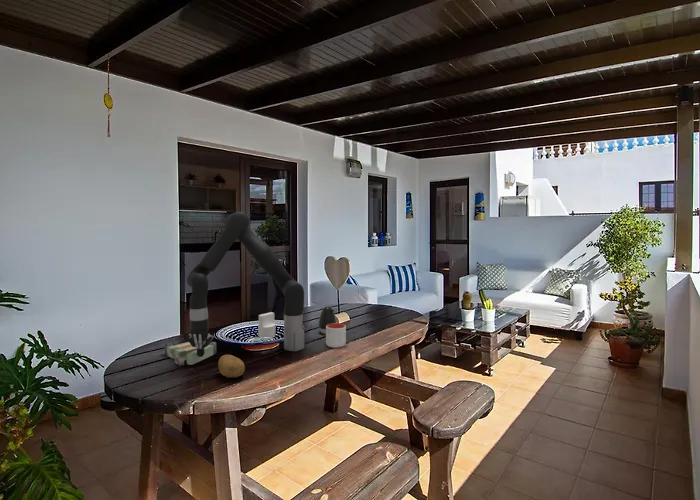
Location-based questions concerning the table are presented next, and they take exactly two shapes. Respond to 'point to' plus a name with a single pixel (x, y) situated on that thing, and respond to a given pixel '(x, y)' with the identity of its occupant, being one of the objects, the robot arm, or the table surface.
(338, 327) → the cup
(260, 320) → the base with upright slab
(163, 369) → the table surface
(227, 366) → the potato
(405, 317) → the table surface
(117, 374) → the table surface
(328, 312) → the dark grey rounded piece
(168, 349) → the stool top
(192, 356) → the leg
